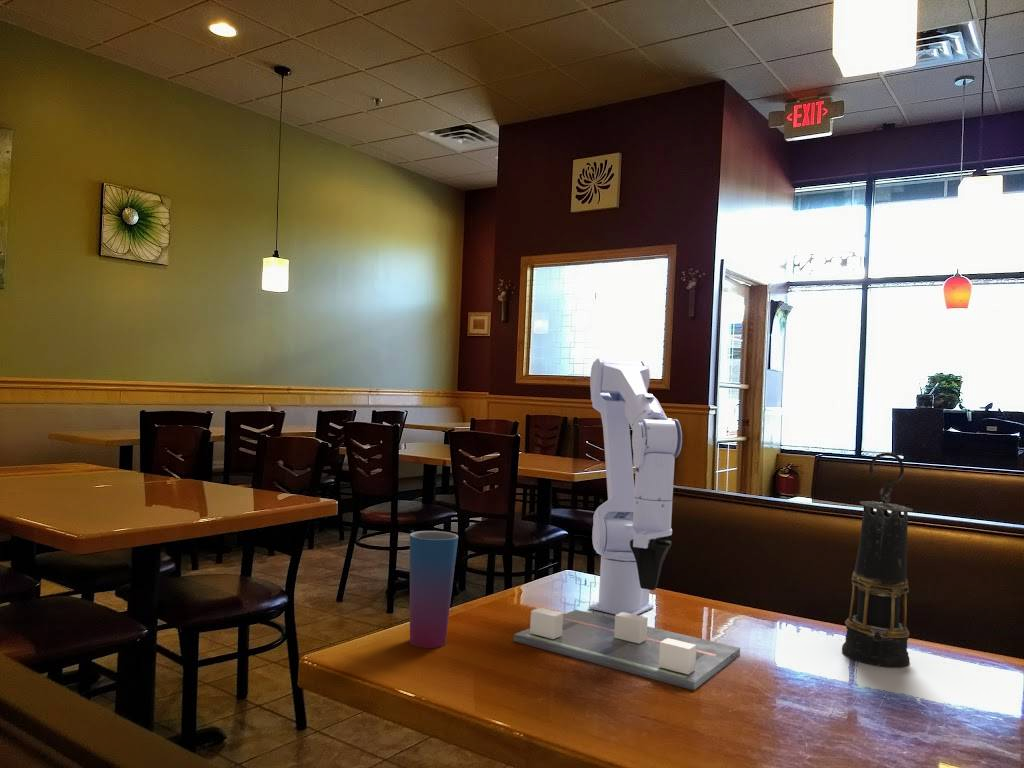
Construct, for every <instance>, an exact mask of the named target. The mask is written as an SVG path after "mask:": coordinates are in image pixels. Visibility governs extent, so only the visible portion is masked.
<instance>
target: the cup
mask: <svg viewBox="0 0 1024 768" xmlns="http://www.w3.org/2000/svg"><path fill="white" fill-rule="evenodd" d="M458 540H459V535H458V534H457V533H453V532H448V531H440V530H420V531H419V530H418V531H413V532H411V533H409V643H410V644H411V646H413V647H418V648H421V649H423V648H424V649H435V648H441V647H443V646H445V645H446V643H447V642H446V641H447V634H448V626H449V617H450V611H451V602H452V600H451V599H452V592H453V584H454V577H455V576H454V575H455V566H456V559H457V550H458V543H459V541H458Z"/></svg>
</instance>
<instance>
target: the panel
mask: <svg viewBox="0 0 1024 768" xmlns="http://www.w3.org/2000/svg"><path fill="white" fill-rule="evenodd" d="M614 629H615V617H609V616H606V615H605V616H604V615H601V614H596V613H591V612H586V611H583V610H580V609H575V610H571V611H569V612H566V613H563V627H562V636H560V637H557V638H555V639H551V638H547V637H543V636H539V635H535V634H532V633H530V627H529V628H526V629H524V630H521V631H519V632H516V633H514V634H513V642H514V643H519V644H523V645H527V646H531V647H533V648H534V647H535V648H538V649H542V650H545V651H549V652H552V653H556V654H560V655H564V656H567V657H570V658H572V659H573V658H574V659H578V660H582V661H584V662H588V663H592V664H596V665H600V666H603V667H607V668H610V669H615V670H617V671H622V672H626V673H628V674H629V673H630V674H632V675H636V676H640V677H644V678H648V679H650V680H654V681H657V682H662V683H666V684H669V685H673V686H675V687H676V686H677V687H680V688H685V689H687V690H691V691H696V690H697V689H698V688H699V687H701V686H702V685H703V684H705V683H706V682H707V681H709V680H710V679H711V678H712V677H714V676H715V675H716V674H718V672H720V671H721V670H722V669H724V668H725V667H727V666H728V665H729V664H730V663H731V662H733V661H734V660H735V659H737V658H738V657H739V656H740V655H741V647H738V646H734V645H729V644H725V643H721V642H717V641H712V640H709V639H703V638H700V637H694V636H692V635H691V636H690V635H687V634H681V633H678V632H674V631H669V630H664V629H660V628H656V627H653V626H652V627H651V626H648V625H647V639H646V640H645V641H644V642H642V643H640V644H638V643H634V642H630V641H626V640H622V639H618V638H614ZM667 638H670V639H674V640H678V641H682V642H687V643H691V644H695V645H696V664H695V670H694V671H693V672H691V673H690V674H689V675H688V674H684V673H680V672H676V671H673V670H669V669H665V668H661V667H659V655H660V642H661V641H663V640H665V639H667Z"/></svg>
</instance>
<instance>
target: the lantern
mask: <svg viewBox="0 0 1024 768" xmlns="http://www.w3.org/2000/svg"><path fill="white" fill-rule="evenodd" d="M882 457H892V458H895V459H896V461H897V462H898V464H899V470H900V471H899V475H898V477H897V479H896V480H894V481H892V482H891V483H885V484H884V485H883V486H881V487H880V489H879V495H880V499H881V501H875V500H869V501H868V500H866V501H865V500H861V501H859V504H860V505H862V506H863V513H862V519H861V527H860V536H859V542H858V549H857V555H856V559H855V560H856V561H855V566H854V570H853V572H852V575H851V584H852V592H851V599H850V607H849V614H848V617H847V618H846V620H845V621H844V624H845V625H846V627H845V628H846V634H845V640H844V643H843V644H842V645H841V646H842V647H841V652H842V654H843V655H844V656H845V657H847V658H849V659H851V660H853V661H857V662H860V663H862V664H864V665H865V664H866V665H870V666H876V667H881V668H891V669H895V668H904V667H908V666H909V665H910V663H911V662H910V660H911V659H910V656H909V652H908V640H909V636H910V631H909V629H908V627H907V615H908V613H907V611H908V609H907V605H908V604H907V603H908V602H907V599H908V598H907V597H908V596H907V595H908V593H909V592H910V589H909V582H908V578H907V568H908V565H907V563H908V562H907V561H908V558H907V557H908V529H909V528H908V526H909V525H908V523H909V522H908V518H909V516H908V514H909V513H908V512H914V510H913V508H910V507H907V506H905V505H900V504H897V503H890V502H891V497H890V496H891V494H892V492H893V489H892V487H893V488H894V486H896V485H898V484H899V483H900V482H901V480H902V479H903V476H904V474H905V473H904V472H905V468H904V467H905V466H904V463H903V460H902V459H901V456H898V454H896V453H893V452H881V453H879V454H877V455H876V456H875V457H873V458H872V460H871V462H870V464H869V468H868V473H869V474H870V475H874V471H873V470H874V466H875V462H876V461H877V460H878V459H879V458H882ZM886 489H887V491H886V492H885V490H886ZM874 509H875V510H874ZM889 511H890V512H889ZM902 513H903V514H902ZM857 588H858V597H857V614H854V610H855V609H854V607H855V600H856V599H855V598H856V592H857V591H856V590H857ZM901 596H902V623H901V622H900V621H899V620H900V605H901Z"/></svg>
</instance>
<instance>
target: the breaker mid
mask: <svg viewBox="0 0 1024 768" xmlns="http://www.w3.org/2000/svg"><path fill="white" fill-rule="evenodd" d="M648 618H649V617H646V616H642V615H639V614H638V615H634V614H629V613H625V612H621V613H619V614H617V615H616V614H614V619H615V629H614V638H618V639H622V640H626V641H630V642H634V643H638V644H640V643H642V642H644V641H645V640H646V639H647V626H648V620H649V619H648Z"/></svg>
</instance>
